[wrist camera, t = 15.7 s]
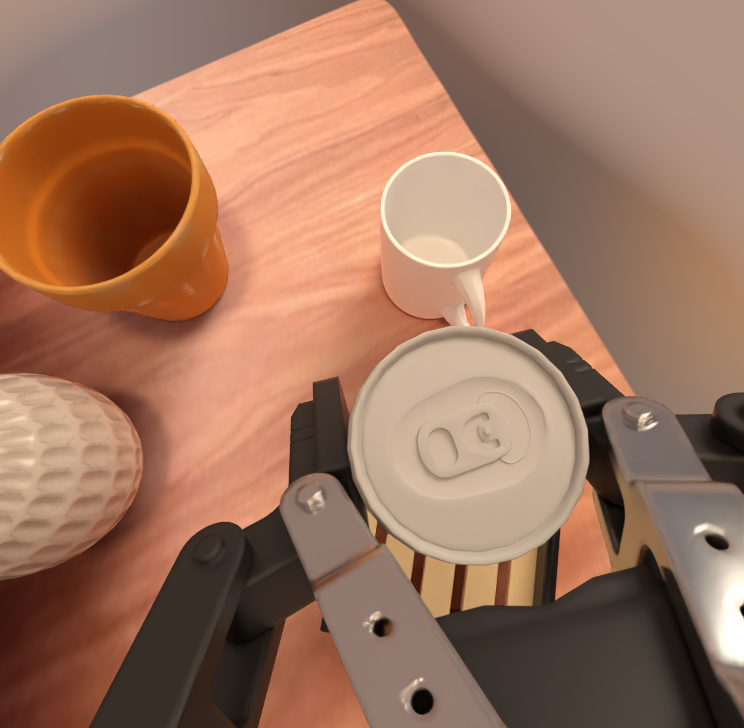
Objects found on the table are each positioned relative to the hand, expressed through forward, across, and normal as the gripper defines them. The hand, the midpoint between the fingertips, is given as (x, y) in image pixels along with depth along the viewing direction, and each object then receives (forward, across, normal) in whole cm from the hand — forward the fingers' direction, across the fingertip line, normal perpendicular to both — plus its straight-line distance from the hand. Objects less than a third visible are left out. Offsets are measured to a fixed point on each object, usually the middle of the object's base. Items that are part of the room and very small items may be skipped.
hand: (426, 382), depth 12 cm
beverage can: (+5, 0, -7) cm, 9 cm away
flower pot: (+30, -16, -4) cm, 34 cm away
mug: (+25, +6, -9) cm, 27 cm away
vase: (+19, -25, -14) cm, 35 cm away
